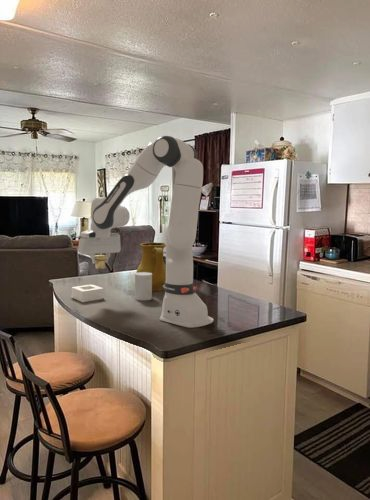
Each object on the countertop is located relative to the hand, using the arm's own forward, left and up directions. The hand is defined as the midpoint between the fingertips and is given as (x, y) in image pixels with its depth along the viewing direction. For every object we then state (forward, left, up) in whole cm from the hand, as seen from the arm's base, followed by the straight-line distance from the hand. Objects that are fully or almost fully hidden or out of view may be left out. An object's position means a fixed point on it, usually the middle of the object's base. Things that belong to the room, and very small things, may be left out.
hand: (100, 263), depth 182 cm
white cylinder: (-8, -19, -18) cm, 27 cm away
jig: (+8, +2, -18) cm, 20 cm away
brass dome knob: (0, 0, -2) cm, 2 cm away
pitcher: (+5, -34, -18) cm, 38 cm away
